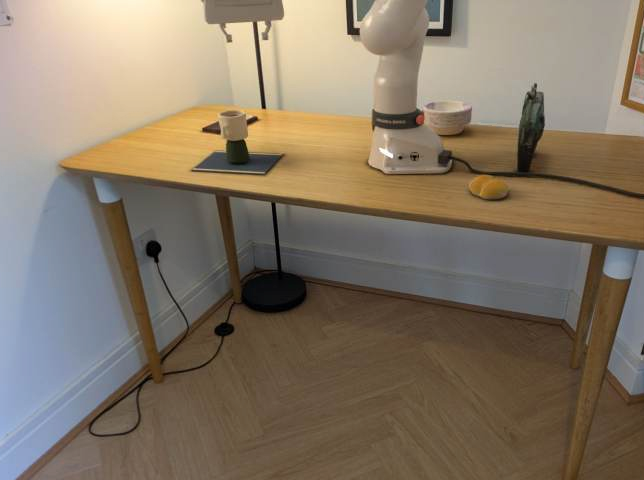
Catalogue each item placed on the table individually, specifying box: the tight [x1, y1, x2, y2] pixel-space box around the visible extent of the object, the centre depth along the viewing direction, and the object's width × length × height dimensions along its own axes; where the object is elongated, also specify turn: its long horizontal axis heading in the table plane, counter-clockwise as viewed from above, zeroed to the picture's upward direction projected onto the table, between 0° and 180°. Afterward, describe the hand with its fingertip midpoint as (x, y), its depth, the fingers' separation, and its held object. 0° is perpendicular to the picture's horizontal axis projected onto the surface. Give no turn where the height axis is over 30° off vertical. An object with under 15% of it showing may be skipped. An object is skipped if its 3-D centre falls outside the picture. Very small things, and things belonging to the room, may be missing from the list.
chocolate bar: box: [201, 114, 259, 135], centre depth 184 cm, size 9×1×18 cm
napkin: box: [191, 150, 284, 176], centre depth 153 cm, size 20×16×1 cm
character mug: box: [217, 109, 250, 163], centre depth 150 cm, size 11×7×13 cm, turn 163°
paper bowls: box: [421, 100, 473, 136], centre depth 173 cm, size 15×15×8 cm
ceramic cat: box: [516, 82, 546, 173], centre depth 145 cm, size 20×6×20 cm, turn 162°
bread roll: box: [468, 174, 509, 200], centre depth 132 cm, size 8×9×4 cm
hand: (247, 41), depth 147 cm, fingers open, 8 cm apart
